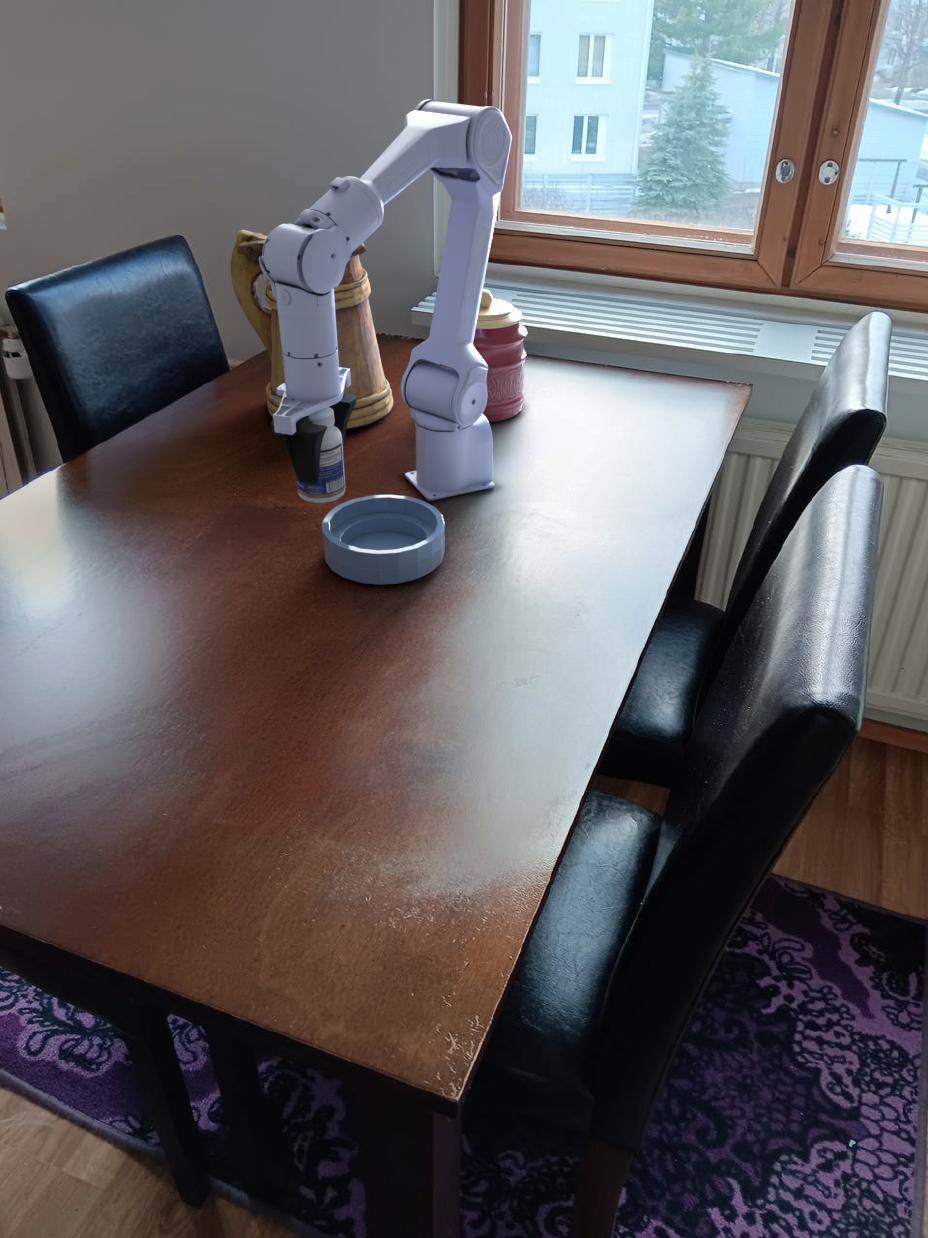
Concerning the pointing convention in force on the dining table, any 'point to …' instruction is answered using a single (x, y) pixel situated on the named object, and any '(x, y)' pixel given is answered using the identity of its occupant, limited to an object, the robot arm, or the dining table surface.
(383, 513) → the bowl
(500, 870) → the dining table surface
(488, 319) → the kitchen canister
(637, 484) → the dining table surface
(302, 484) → the pill bottle
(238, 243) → the tankard
